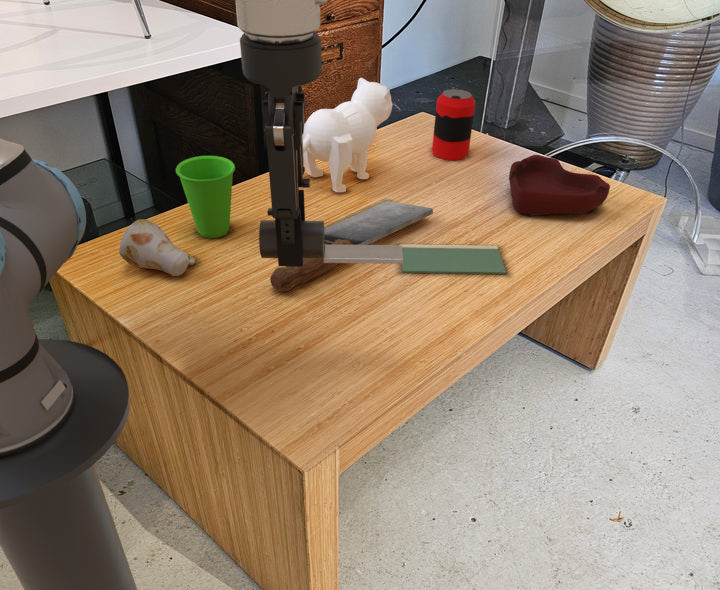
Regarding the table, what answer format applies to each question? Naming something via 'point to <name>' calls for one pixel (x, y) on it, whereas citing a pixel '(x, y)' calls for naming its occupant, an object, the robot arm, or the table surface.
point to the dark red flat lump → (553, 188)
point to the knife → (328, 246)
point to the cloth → (452, 259)
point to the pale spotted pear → (152, 249)
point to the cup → (208, 192)
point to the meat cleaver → (352, 238)
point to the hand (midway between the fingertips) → (292, 252)
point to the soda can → (453, 124)
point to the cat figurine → (346, 133)
